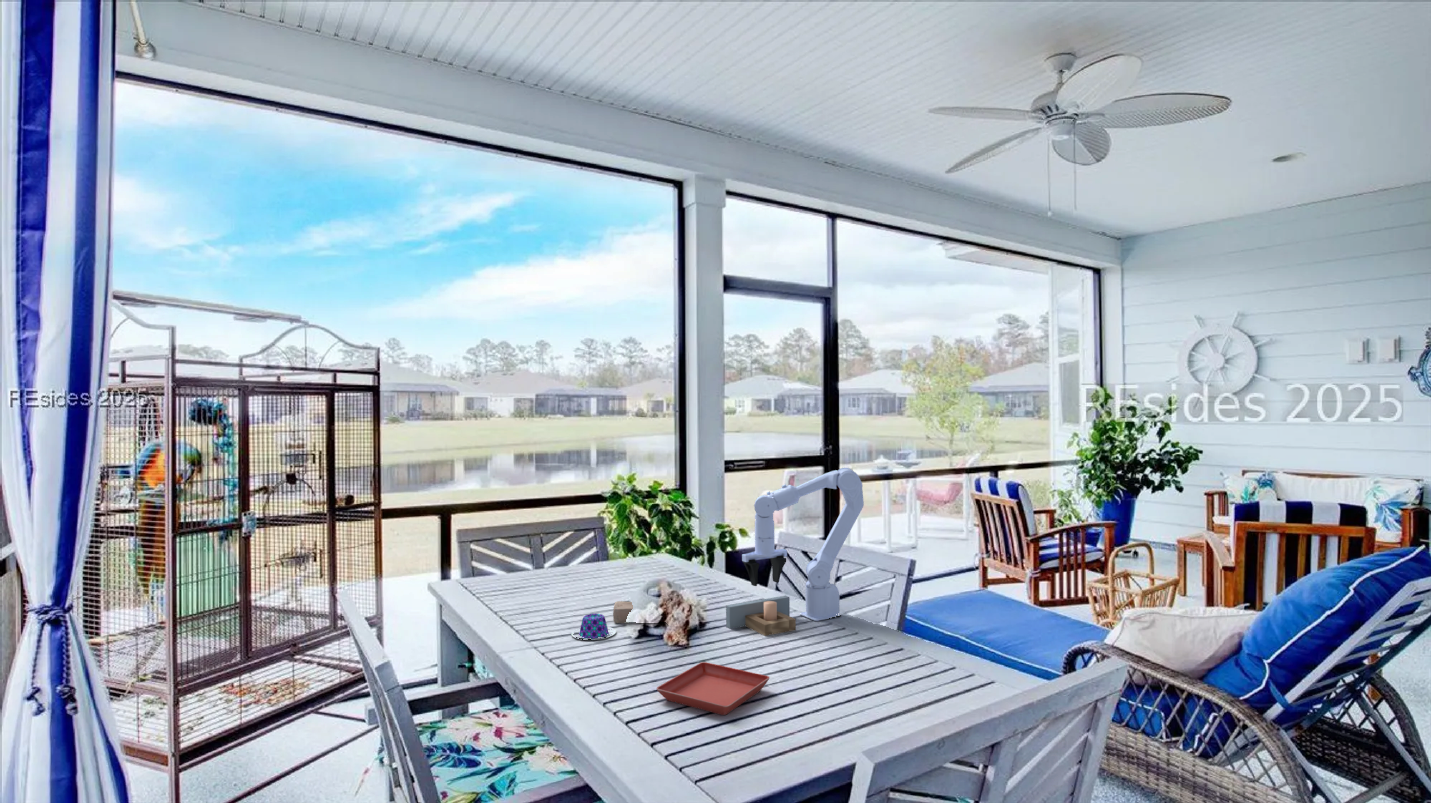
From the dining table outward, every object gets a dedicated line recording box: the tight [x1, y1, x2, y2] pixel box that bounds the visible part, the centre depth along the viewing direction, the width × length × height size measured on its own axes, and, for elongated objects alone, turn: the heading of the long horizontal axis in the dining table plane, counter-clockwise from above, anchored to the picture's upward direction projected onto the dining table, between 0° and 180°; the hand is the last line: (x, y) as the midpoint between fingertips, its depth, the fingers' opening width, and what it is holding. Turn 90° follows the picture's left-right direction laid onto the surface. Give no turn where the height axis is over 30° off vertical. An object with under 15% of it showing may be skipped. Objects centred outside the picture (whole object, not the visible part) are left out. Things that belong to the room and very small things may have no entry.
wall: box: [725, 595, 791, 630], centre depth 209 cm, size 20×2×6 cm, turn 119°
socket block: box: [744, 611, 797, 637], centre depth 204 cm, size 10×10×3 cm
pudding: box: [571, 613, 617, 641], centre depth 200 cm, size 12×12×5 cm
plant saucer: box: [656, 661, 771, 716], centre depth 158 cm, size 18×18×3 cm
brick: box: [612, 600, 633, 624], centre depth 214 cm, size 17×8×5 cm, turn 94°
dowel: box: [764, 601, 777, 621], centre depth 204 cm, size 4×4×7 cm
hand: (765, 583), depth 216 cm, fingers open, 7 cm apart
